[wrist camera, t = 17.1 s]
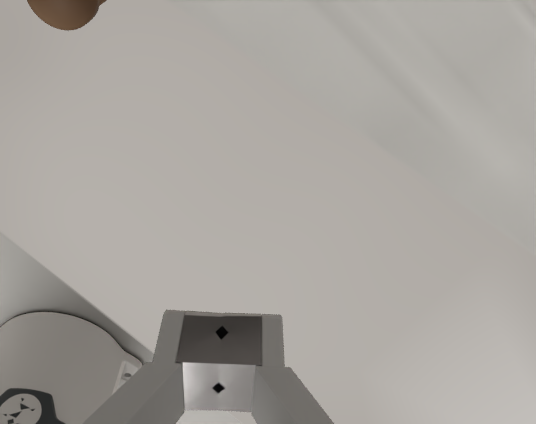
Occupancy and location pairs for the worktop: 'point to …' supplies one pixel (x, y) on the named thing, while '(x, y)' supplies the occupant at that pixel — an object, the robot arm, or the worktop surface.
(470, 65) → the worktop surface
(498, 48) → the worktop surface
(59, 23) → the hinge post
